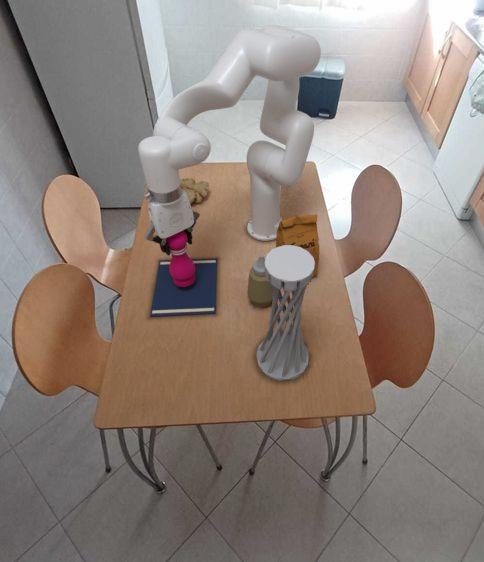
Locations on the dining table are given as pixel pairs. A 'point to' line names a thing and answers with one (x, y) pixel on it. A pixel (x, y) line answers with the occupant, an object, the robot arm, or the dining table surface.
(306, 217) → the coffee package
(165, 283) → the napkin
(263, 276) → the squeeze bottle
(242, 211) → the dining table surface
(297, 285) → the twisted lattice pedestal
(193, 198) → the ginger root
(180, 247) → the pepper mill
